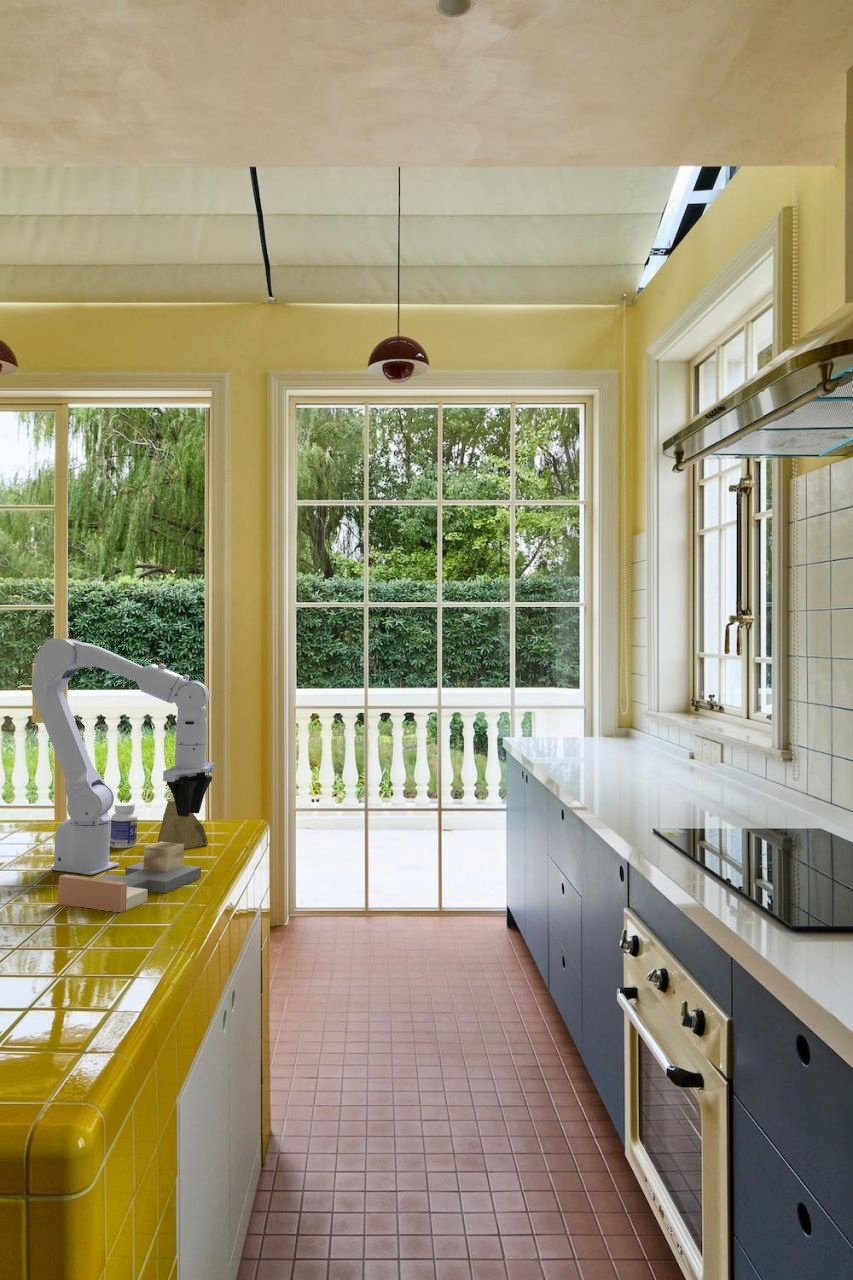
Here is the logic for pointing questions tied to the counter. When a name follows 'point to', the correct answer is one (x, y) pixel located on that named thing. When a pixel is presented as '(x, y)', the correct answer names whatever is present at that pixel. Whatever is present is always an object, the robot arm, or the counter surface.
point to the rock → (181, 828)
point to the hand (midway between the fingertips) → (188, 814)
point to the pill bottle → (123, 826)
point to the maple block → (163, 856)
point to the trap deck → (122, 887)
